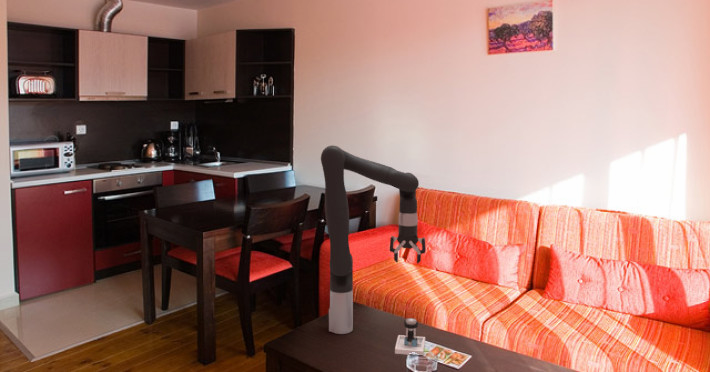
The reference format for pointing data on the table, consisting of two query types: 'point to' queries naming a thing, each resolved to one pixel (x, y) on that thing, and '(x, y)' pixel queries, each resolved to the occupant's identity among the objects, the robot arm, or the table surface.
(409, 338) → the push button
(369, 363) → the table surface
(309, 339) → the table surface
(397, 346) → the white button tray
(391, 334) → the table surface
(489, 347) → the table surface
